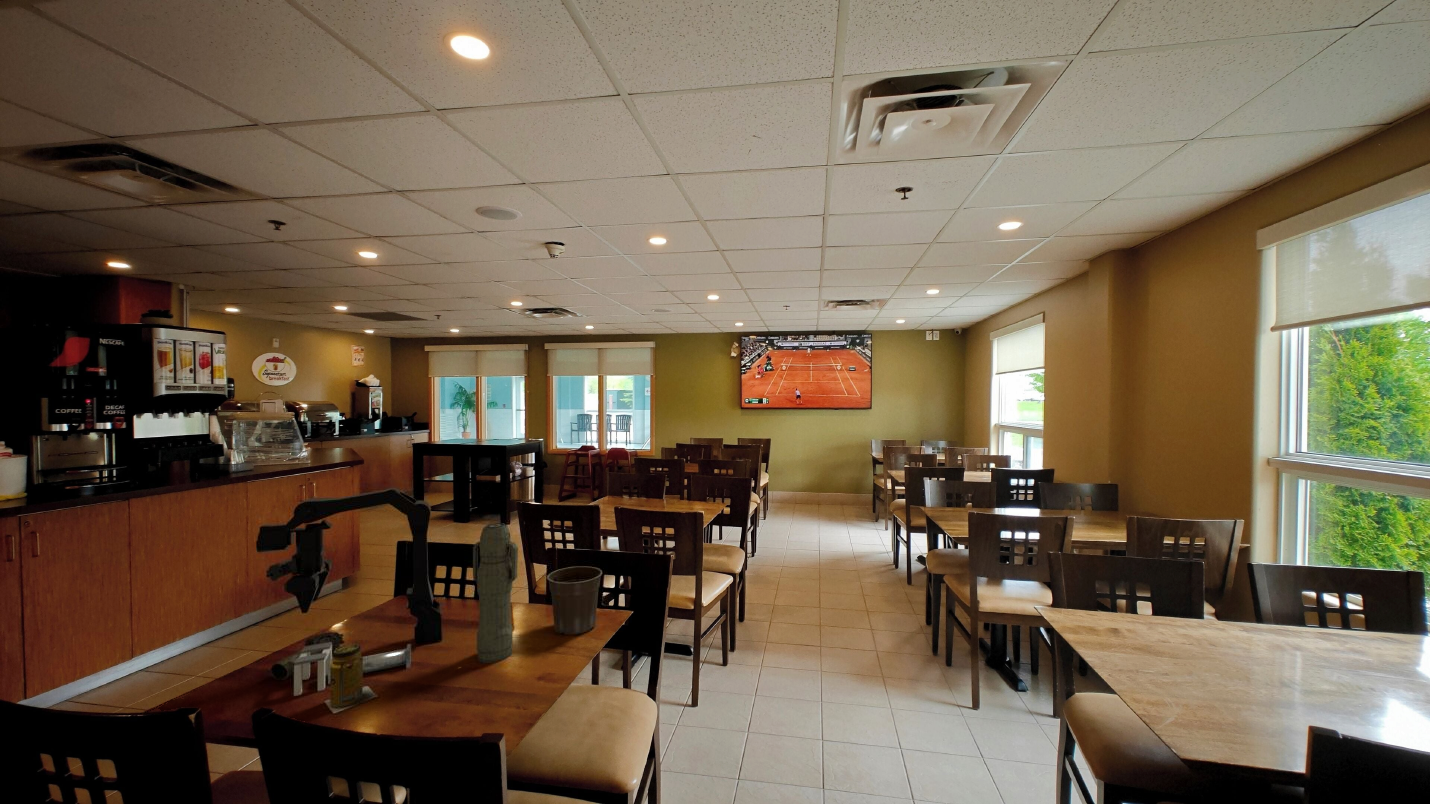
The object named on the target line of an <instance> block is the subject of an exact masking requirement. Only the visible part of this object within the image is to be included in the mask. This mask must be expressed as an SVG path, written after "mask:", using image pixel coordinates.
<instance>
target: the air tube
mask: <svg viewBox="0 0 1430 804" xmlns="http://www.w3.org/2000/svg"><path fill="white" fill-rule="evenodd" d="M362 658H363V674H366V673H372V672H377V671H382V670H385V669H390V668H396V667H401V666H405V667H406V668H405V669H410V668H411V663H412V644H411V643H407V645H406V648H403V649H397V650H393V651H387V652H382V653H377V654H376V653H375V654H371V655H366V656H362ZM332 659H333V657H332ZM332 659H331V662H330V664H329V666H328V675H327V681H328V682H327V684H328V685H329V686H330V668H331V663H332V662H333V661H332Z"/></svg>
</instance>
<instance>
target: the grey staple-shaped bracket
mask: <svg viewBox="0 0 1430 804" xmlns="http://www.w3.org/2000/svg"><path fill="white" fill-rule="evenodd" d="M301 650H302V651H301ZM301 650H300V651H301V655H300V657H298V658H297V659H296V661H295V663H294V674H293V696H294V697H296V696H301V695H302V692H303V680H309V678H310V676H311V663H310V662H312V663H315V662H317V692H320V691H324V690H325V688H326V676H328V666H329V664H330V662H331V659H332V658H333V656H332V654H333V653H332V642H328V643H322V644H316V645H310V646H305V645H304V646H303V648H302V649H301ZM320 650H323V652H322V653H321V654H315V655H310V652H314V651H320ZM302 666H303V668H302Z"/></svg>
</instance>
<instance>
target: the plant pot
mask: <svg viewBox="0 0 1430 804" xmlns="http://www.w3.org/2000/svg"><path fill="white" fill-rule="evenodd" d="M602 575H603V571H602V570H601V569H600V568H598V567H593V566H588V565H587V566H585V565H584V566H582V565H581V566H579V565H578V566H570V567H565V568H564V567H563V568H560V569H557V570H554V571H551V572H550V573H549V574H547V577H546V579H547V581H548V585H549V586H548V588H549V591H550V595H551V604H552V613H553V614H552V617H553V624H554V626H553V627H554V628H553V629H554V631H555V632H556V633H558V634H560V635H561V634H564V635H567V636H568V635H569V636H571V635H574V636H575V635H580V634H584V633H587V632H589V631H590V630H591V629H593V628H595V627H596V622H597V608H598V600H599V599H598V597H599V588H600V586H601V577H602Z"/></svg>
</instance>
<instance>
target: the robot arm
mask: <svg viewBox="0 0 1430 804" xmlns="http://www.w3.org/2000/svg"><path fill="white" fill-rule="evenodd" d="M382 505H390V506H392V507H393V508H394V509H396V510H397V511H398V512H400V513H401V514H403V515H405V516H406V517H407V522H408V525H409V529H410V533H411V536H412V567H413V571H412V572H413V585H412V587H408V588H407V590H406V599H407V605H406V610H409V613H410V615H411V616H413V617H414V618H416V623H415V624H414V631H413V632H414V635H413V638H414V642H415V645H416V646H420V645H421V646H422V645H426V644H431V643H436V642H442V641H443V618H442V617H443V614H442V604H441V603H440V602H439V601H437V600H436V599H435V598H434V595H433V591H432V587H431V584H430V579H429V558H428V557H429V554H428V530H429V526H430V525H429V524H430V518H431V511H432V507H431V504H430V503H428V502H427V501H425V500H420V499H419V500H417V499H416V498H414V497H412V496H410V495H408V494H406V493H404V492H402V491H400V490H399V489H398V488H396V487H390V488H387V489H384V490H383V489H382V490H377V491H376V490H375V491H371V492H365V493H359V494H353V495H349V496H348V495H347V496H343V497H310V498H307V499H305V500H303V501H302V502H300V503H299V504H297V505H296V507H295V508H294V510H293V517H292V518H291V519H289V520H288V521H287V522H286V523H282V524H262V525H261V526H260V527H259V531H258V534H257V539H256V542H255V548H256V552H257V553H259V554H260V553H268V552H279V551H287V550H288V549H289V547H290V546H293V545H294V543H295V553H294V554H292V556H291V558H289V559H286V560H284V561H281V562H276V563H275V564H271V565H270V566H269V567H268V568H267V569H266V570H265V571H266V572H265V573H266V575H265V577H266V578H268V579H270V582H274V581H275V582H276V581H277V580H278V579H280V578H282V577H285V576H287V575H291V577H290V578H289V579H288V580H286V582H285V583H284V588H283V589H284V592H286V593H288V594H291V595H293V596H295V598H296V601H297V603H298V605H299V609H300V611H301V613H302V614H308V612H309V611H310V608H311V605H312V603H313V602H315V601H316V602H317V600H318V598H319V596H320V594H321V591H322V589H323V587H324V585H325V583H326V581H327V579H328V576H329V574H330V572H331V569H332V567H333V566H332V565H333V563H332V562H333V561H332V560H331V559H329V558H327V557H326V558H324V553H325V552H326V547H324V530H329V529H331V528H332V527H333V523H331V522H329V521H328V520H327V518H329V517H331V516H335V515H336V514H340V513H344V512H345V513H346V512H351V511H355V510H363V509H366V508H367V509H368V508H372V507H378V506H382ZM320 520H321V522H317V521H320ZM303 524H304V525H305V524H306V525H305V526H303V527H300V526H301V525H303ZM325 569H326V570H325Z"/></svg>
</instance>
